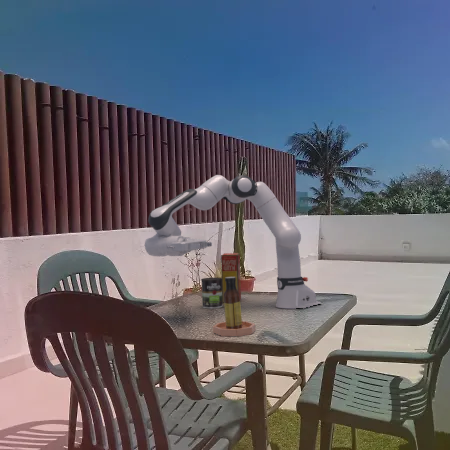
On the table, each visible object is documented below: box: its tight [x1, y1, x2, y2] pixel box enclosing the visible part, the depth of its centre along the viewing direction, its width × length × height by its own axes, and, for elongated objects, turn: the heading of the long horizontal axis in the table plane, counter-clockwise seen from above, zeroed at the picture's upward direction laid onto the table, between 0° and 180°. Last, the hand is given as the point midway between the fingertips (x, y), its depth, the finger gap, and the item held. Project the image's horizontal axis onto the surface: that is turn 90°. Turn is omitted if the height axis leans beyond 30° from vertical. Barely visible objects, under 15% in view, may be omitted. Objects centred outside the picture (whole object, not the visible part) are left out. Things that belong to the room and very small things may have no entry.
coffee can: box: [200, 277, 224, 310], centre depth 240 cm, size 10×10×14 cm
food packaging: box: [220, 252, 242, 304], centre depth 256 cm, size 13×9×25 cm
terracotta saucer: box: [212, 320, 256, 337], centre depth 184 cm, size 15×15×2 cm
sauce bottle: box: [223, 277, 243, 329], centre depth 184 cm, size 7×6×20 cm
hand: (205, 245), depth 204 cm, fingers open, 8 cm apart
